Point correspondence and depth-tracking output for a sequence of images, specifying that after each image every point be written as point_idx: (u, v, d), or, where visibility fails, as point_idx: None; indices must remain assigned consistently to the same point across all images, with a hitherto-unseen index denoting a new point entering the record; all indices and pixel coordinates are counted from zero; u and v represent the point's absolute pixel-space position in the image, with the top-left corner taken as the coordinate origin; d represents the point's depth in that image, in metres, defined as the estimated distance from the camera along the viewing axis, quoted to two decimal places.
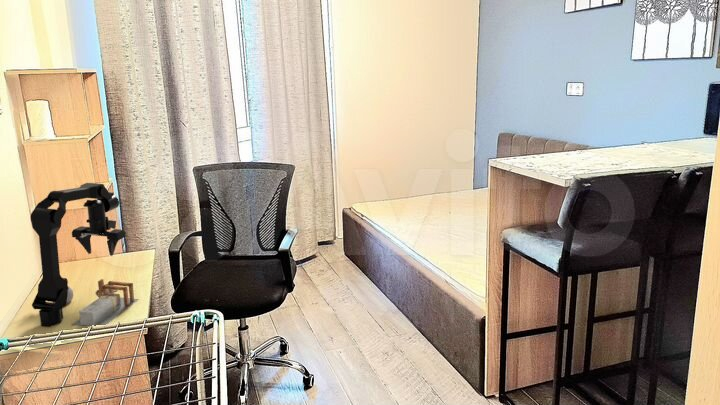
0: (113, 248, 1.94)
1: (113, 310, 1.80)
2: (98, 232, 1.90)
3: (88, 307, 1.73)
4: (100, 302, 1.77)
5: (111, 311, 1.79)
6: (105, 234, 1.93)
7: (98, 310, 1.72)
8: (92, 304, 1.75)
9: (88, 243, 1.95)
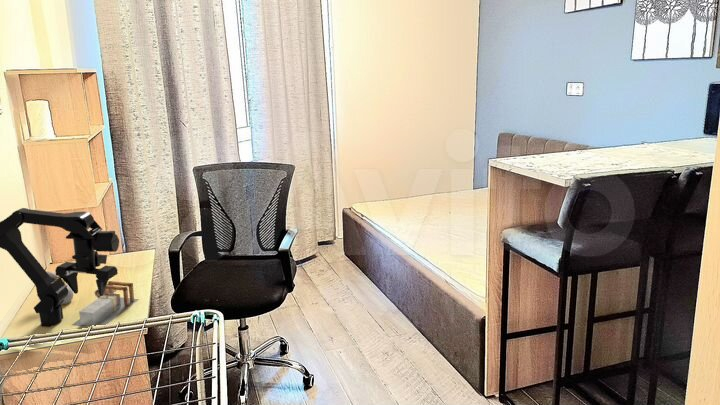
0: (103, 288, 1.69)
1: (113, 310, 1.80)
2: (86, 270, 1.65)
3: (88, 307, 1.73)
4: (100, 302, 1.77)
5: (111, 311, 1.79)
6: (94, 272, 1.67)
7: (98, 310, 1.72)
8: (92, 304, 1.75)
9: (74, 281, 1.70)
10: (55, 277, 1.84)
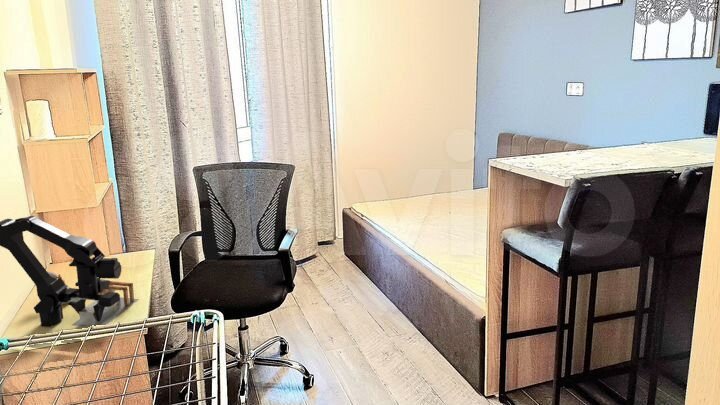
0: (101, 313, 1.71)
1: (113, 310, 1.80)
2: (89, 297, 1.67)
3: (88, 307, 1.73)
4: None
5: (111, 311, 1.79)
6: (97, 298, 1.70)
7: None
8: (92, 304, 1.75)
9: (83, 308, 1.72)
10: (55, 277, 1.84)
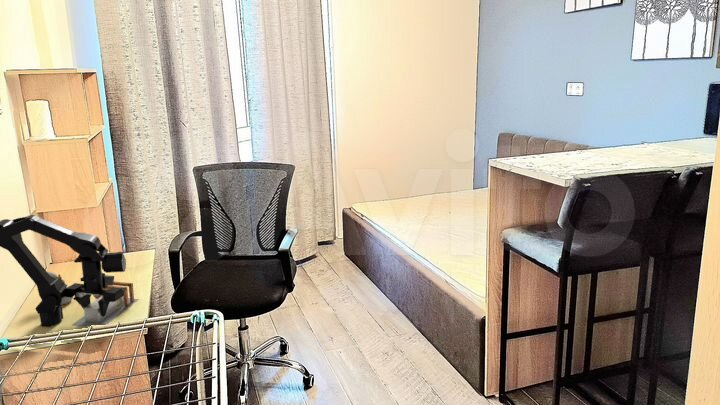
0: (105, 308, 1.73)
1: (117, 307, 1.82)
2: (93, 292, 1.69)
3: (93, 303, 1.75)
4: None
5: (115, 308, 1.81)
6: (101, 293, 1.72)
7: None
8: (97, 301, 1.77)
9: (88, 303, 1.74)
10: (55, 277, 1.84)
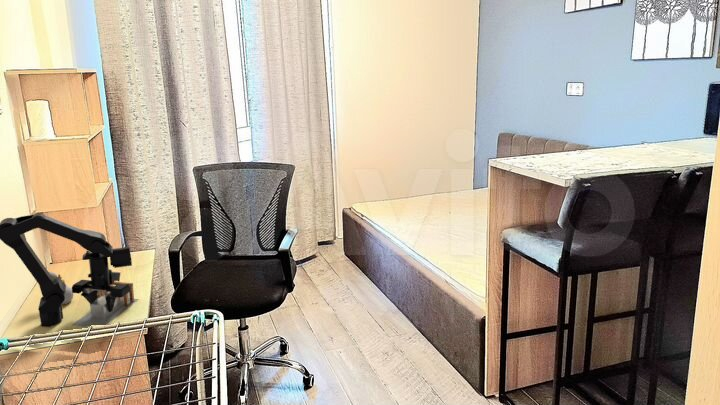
0: (112, 304, 1.77)
1: (122, 303, 1.86)
2: (101, 288, 1.73)
3: (98, 300, 1.78)
4: None
5: (120, 304, 1.84)
6: (108, 289, 1.76)
7: None
8: (102, 297, 1.80)
9: (95, 299, 1.78)
10: (55, 277, 1.84)
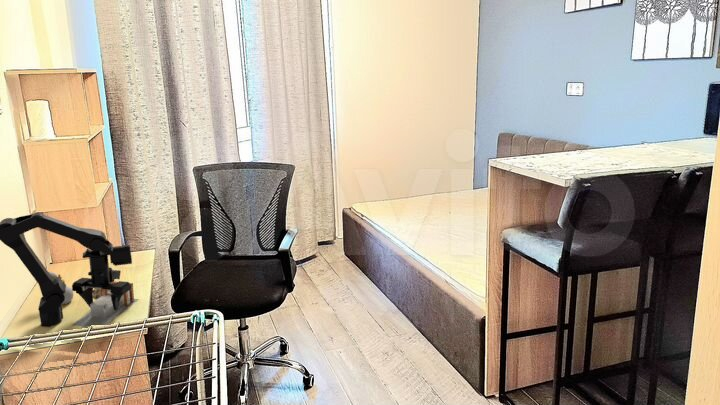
0: (117, 302, 1.77)
1: (122, 303, 1.86)
2: (101, 286, 1.73)
3: (98, 300, 1.78)
4: (110, 295, 1.82)
5: (120, 304, 1.84)
6: (109, 287, 1.76)
7: (108, 303, 1.77)
8: (102, 297, 1.80)
9: (90, 296, 1.78)
10: (55, 277, 1.84)
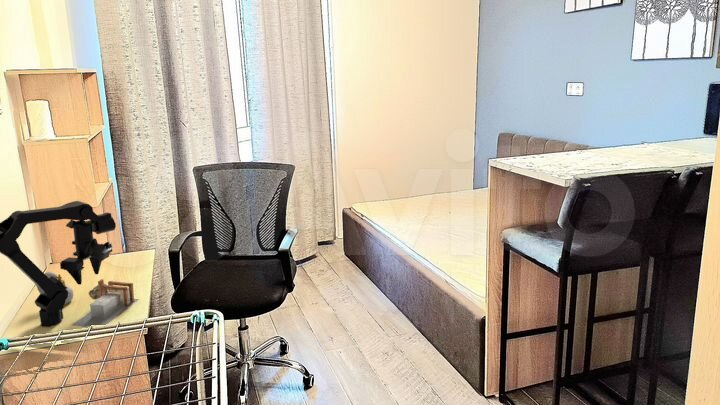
0: (75, 277, 1.74)
1: (122, 303, 1.86)
2: None
3: (98, 300, 1.78)
4: (110, 295, 1.82)
5: (120, 304, 1.84)
6: None
7: (108, 303, 1.77)
8: (102, 297, 1.80)
9: (96, 263, 1.83)
10: (55, 277, 1.84)
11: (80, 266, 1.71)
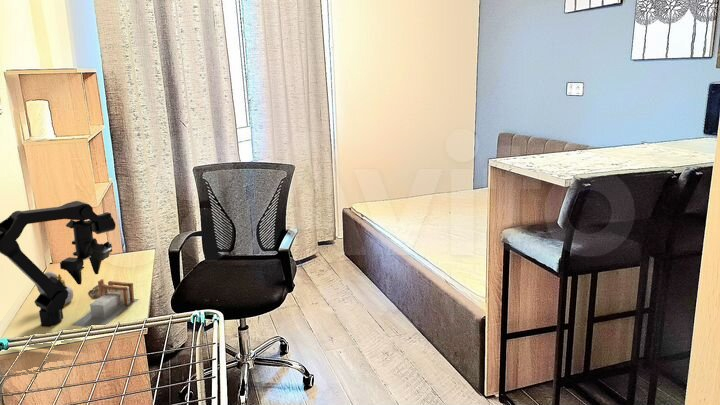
0: (75, 277, 1.74)
1: (122, 303, 1.86)
2: None
3: (98, 300, 1.78)
4: (110, 295, 1.82)
5: (120, 304, 1.84)
6: None
7: (108, 303, 1.77)
8: (102, 297, 1.80)
9: (95, 263, 1.84)
10: (55, 277, 1.84)
11: (80, 266, 1.71)
